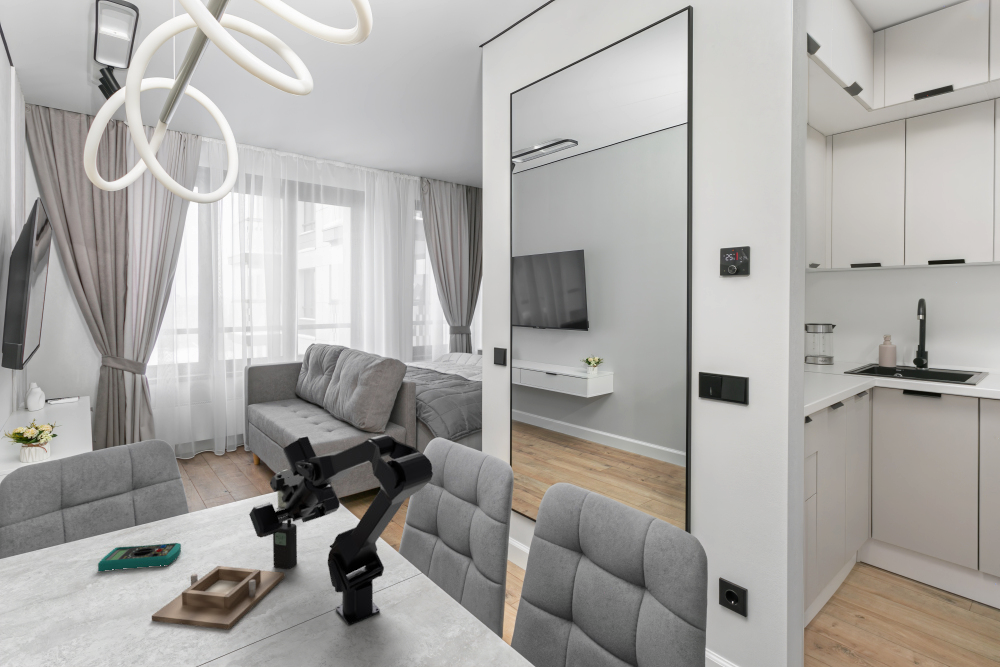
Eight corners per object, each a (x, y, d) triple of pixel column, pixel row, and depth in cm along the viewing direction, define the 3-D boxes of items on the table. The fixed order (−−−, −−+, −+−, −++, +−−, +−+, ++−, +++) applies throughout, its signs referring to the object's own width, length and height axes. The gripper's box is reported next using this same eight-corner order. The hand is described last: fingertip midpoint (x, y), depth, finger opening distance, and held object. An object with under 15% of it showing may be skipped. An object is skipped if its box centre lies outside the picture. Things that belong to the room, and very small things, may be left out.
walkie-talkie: (272, 567, 113) (271, 502, 113) (281, 559, 117) (281, 497, 116) (290, 569, 112) (289, 505, 111) (299, 562, 116) (299, 499, 115)
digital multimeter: (170, 567, 114) (170, 555, 113) (96, 574, 110) (95, 561, 110) (184, 552, 121) (183, 540, 121) (114, 557, 118) (114, 545, 117)
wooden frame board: (284, 577, 109) (284, 559, 109) (228, 629, 92) (228, 608, 91) (218, 570, 112) (218, 553, 111) (151, 620, 94) (151, 600, 94)
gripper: (333, 451, 117) (308, 485, 125) (252, 471, 103) (230, 508, 111) (352, 492, 113) (325, 525, 120) (271, 519, 98) (247, 554, 106)
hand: (284, 526), depth 114 cm, fingers open, 9 cm apart
